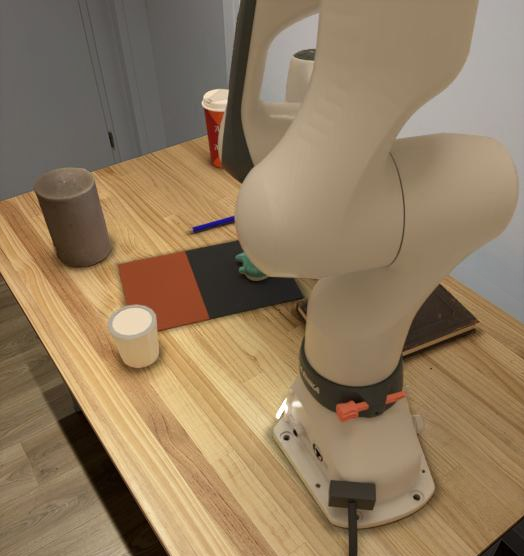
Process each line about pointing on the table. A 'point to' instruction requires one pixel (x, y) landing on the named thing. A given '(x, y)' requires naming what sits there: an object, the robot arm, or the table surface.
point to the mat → (200, 285)
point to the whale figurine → (250, 268)
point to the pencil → (212, 224)
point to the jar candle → (135, 335)
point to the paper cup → (214, 119)
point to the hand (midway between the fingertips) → (306, 238)
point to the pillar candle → (73, 216)
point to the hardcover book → (430, 322)
